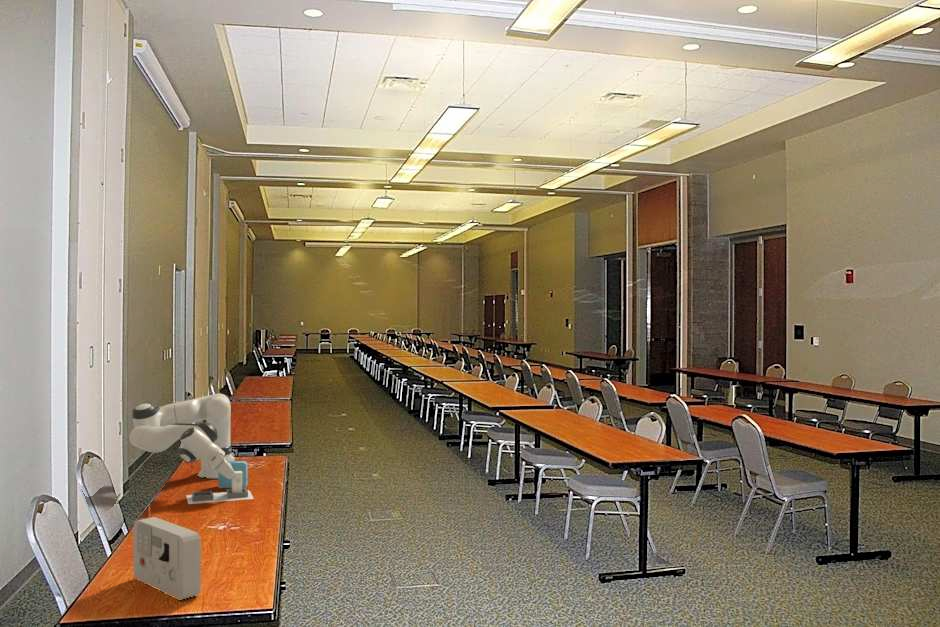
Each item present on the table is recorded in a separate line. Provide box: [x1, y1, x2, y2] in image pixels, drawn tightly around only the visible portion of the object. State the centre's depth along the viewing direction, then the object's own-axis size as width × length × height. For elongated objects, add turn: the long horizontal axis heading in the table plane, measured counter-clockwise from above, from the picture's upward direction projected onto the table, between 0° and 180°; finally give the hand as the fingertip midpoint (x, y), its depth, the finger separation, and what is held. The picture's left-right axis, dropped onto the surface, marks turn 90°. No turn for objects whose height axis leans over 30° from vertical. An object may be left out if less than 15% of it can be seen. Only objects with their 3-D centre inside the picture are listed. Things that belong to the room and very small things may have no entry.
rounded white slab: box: [132, 516, 202, 601], centre depth 222 cm, size 29×8×18 cm, turn 50°
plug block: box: [231, 471, 243, 493], centre depth 328 cm, size 4×4×10 cm
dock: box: [186, 487, 255, 505], centre depth 326 cm, size 16×26×3 cm, turn 113°
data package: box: [217, 460, 249, 489], centre depth 345 cm, size 12×4×12 cm, turn 98°
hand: (238, 479), depth 329 cm, fingers open, 8 cm apart
